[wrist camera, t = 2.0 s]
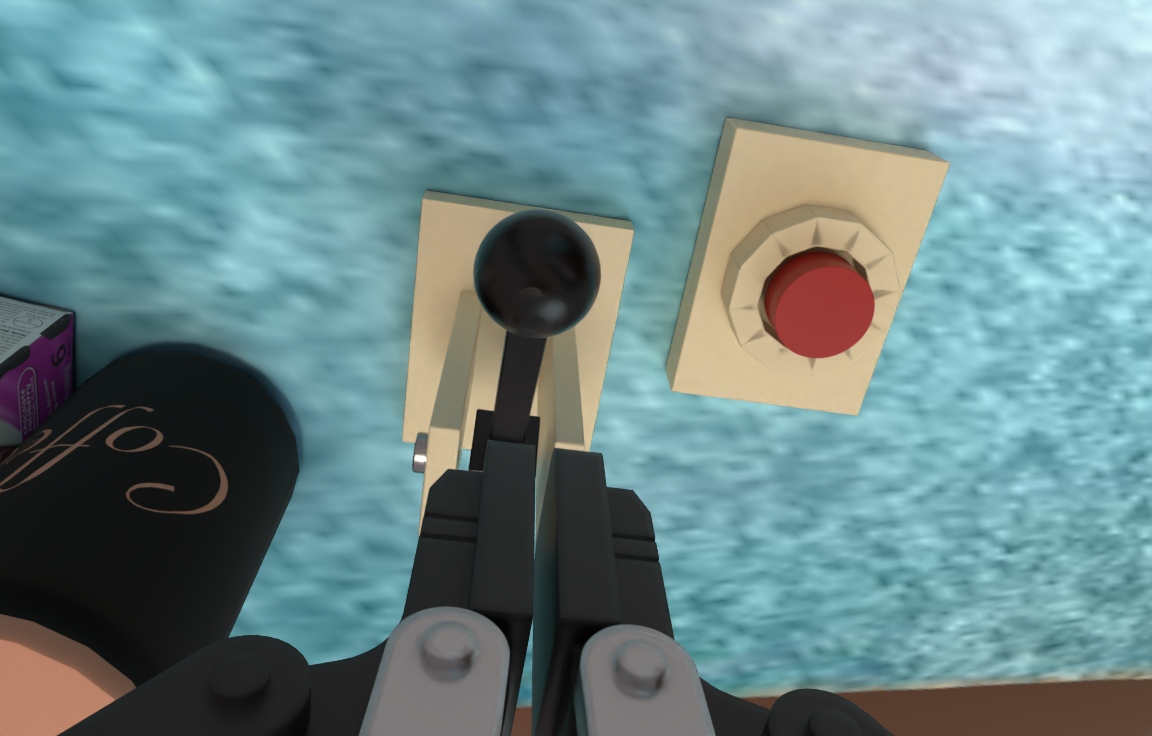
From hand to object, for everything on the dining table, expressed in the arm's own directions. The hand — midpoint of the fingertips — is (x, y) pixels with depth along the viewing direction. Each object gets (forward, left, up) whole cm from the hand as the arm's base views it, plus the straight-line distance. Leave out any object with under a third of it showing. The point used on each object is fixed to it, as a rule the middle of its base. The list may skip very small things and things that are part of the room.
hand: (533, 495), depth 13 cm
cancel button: (+4, +12, -21) cm, 25 cm away
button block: (+4, +12, -25) cm, 28 cm away
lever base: (+9, 0, -25) cm, 27 cm away
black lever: (+4, 0, -13) cm, 13 cm away
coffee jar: (+17, -15, -25) cm, 34 cm away
